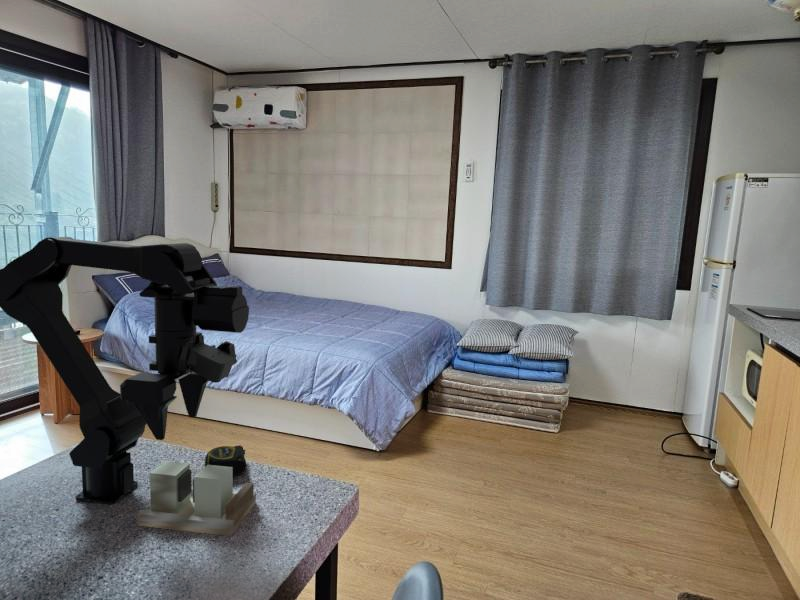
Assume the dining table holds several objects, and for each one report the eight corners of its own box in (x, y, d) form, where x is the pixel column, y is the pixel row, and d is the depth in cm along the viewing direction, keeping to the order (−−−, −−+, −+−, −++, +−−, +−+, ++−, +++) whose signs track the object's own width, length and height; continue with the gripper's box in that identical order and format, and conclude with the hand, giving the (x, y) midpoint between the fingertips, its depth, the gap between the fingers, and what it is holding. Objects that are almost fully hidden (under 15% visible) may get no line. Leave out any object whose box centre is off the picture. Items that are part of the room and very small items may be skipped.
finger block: (220, 518, 77) (220, 479, 76) (191, 515, 77) (190, 476, 76) (232, 504, 81) (232, 467, 80) (204, 501, 81) (204, 464, 80)
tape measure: (246, 479, 91) (246, 458, 90) (204, 483, 89) (203, 462, 88) (245, 461, 97) (245, 442, 97) (205, 465, 95) (205, 445, 94)
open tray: (137, 525, 76) (136, 480, 75) (171, 494, 84) (171, 453, 83) (230, 536, 74) (230, 490, 73) (255, 503, 83) (256, 462, 82)
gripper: (195, 345, 69) (196, 459, 71) (252, 320, 87) (252, 411, 89) (115, 339, 70) (119, 451, 72) (188, 316, 88) (189, 405, 90)
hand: (177, 427), depth 81 cm, fingers open, 9 cm apart
